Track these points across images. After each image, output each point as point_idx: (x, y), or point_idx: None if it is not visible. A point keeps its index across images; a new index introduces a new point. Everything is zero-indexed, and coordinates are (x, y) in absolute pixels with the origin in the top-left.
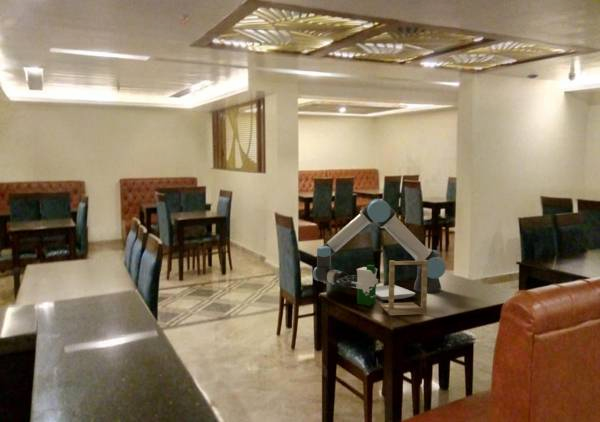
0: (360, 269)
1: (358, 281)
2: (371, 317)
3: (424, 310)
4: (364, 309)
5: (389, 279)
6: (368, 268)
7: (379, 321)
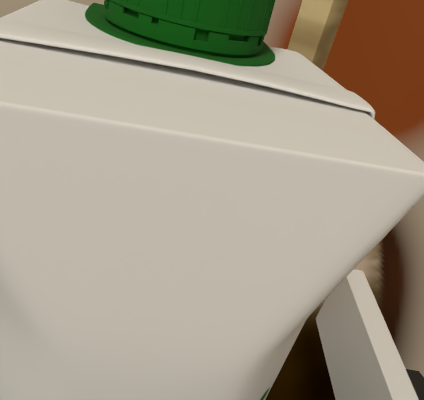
0: (354, 123)
1: (280, 368)
2: (374, 287)
3: None
4: (296, 382)
5: (325, 43)
6: (267, 25)
7: (377, 247)
